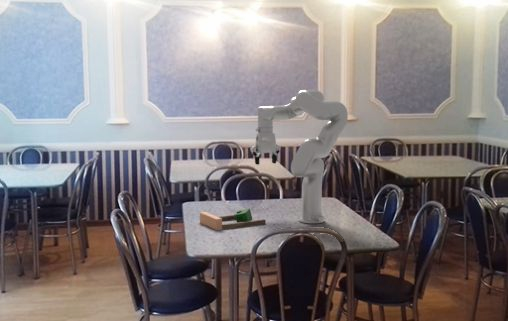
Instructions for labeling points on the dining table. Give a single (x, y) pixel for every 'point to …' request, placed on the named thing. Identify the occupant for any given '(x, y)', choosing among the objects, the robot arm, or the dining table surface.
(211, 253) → the dining table surface
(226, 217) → the guide rails
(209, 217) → the end stop
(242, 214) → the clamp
